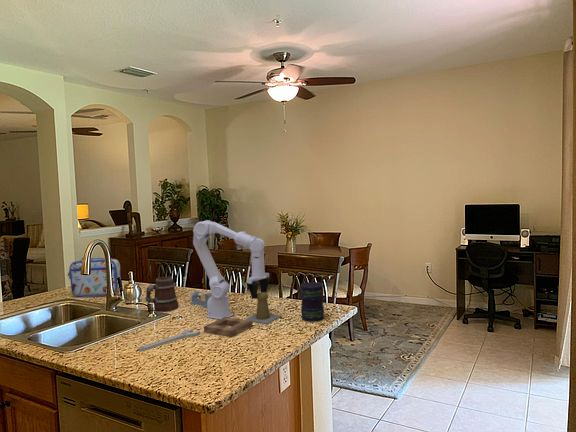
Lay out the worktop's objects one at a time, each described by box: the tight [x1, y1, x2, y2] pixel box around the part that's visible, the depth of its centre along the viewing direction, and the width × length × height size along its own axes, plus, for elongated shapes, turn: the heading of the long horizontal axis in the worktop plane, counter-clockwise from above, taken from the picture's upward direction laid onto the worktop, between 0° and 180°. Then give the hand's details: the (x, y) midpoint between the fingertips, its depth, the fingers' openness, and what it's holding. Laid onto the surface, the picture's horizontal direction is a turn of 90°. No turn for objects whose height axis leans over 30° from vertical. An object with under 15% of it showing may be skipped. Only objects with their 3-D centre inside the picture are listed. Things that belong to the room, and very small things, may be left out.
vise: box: [184, 289, 212, 309], centre depth 218 cm, size 18×10×7 cm, turn 47°
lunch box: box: [67, 257, 121, 298], centre depth 243 cm, size 28×10×22 cm, turn 93°
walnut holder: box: [203, 316, 253, 338], centre depth 176 cm, size 14×14×2 cm
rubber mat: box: [243, 313, 283, 325], centre depth 189 cm, size 12×12×1 cm
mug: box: [144, 276, 179, 312], centre depth 209 cm, size 16×12×15 cm
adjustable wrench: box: [137, 328, 201, 352], centre depth 165 cm, size 25×6×2 cm, turn 131°
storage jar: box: [300, 281, 325, 323], centre depth 186 cm, size 10×10×15 cm
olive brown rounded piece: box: [255, 291, 270, 319], centre depth 189 cm, size 6×6×11 cm
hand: (259, 296), depth 191 cm, fingers open, 7 cm apart
